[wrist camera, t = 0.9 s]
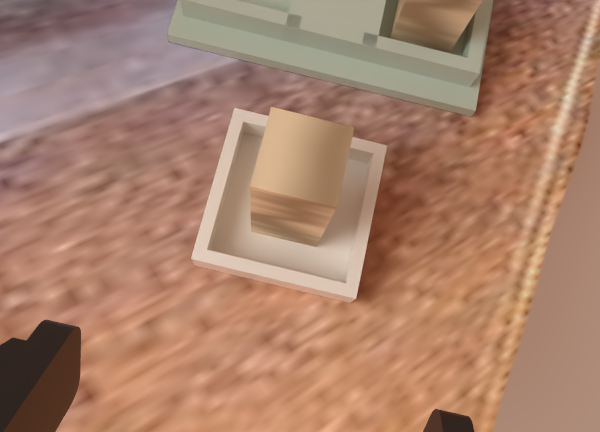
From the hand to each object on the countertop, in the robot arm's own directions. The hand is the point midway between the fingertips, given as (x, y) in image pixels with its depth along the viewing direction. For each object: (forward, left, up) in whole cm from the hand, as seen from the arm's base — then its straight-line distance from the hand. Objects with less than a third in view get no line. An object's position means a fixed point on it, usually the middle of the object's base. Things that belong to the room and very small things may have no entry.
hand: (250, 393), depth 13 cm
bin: (-2, +11, -25) cm, 27 cm away
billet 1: (-2, +11, -24) cm, 27 cm away
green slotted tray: (-5, +27, -25) cm, 37 cm away
